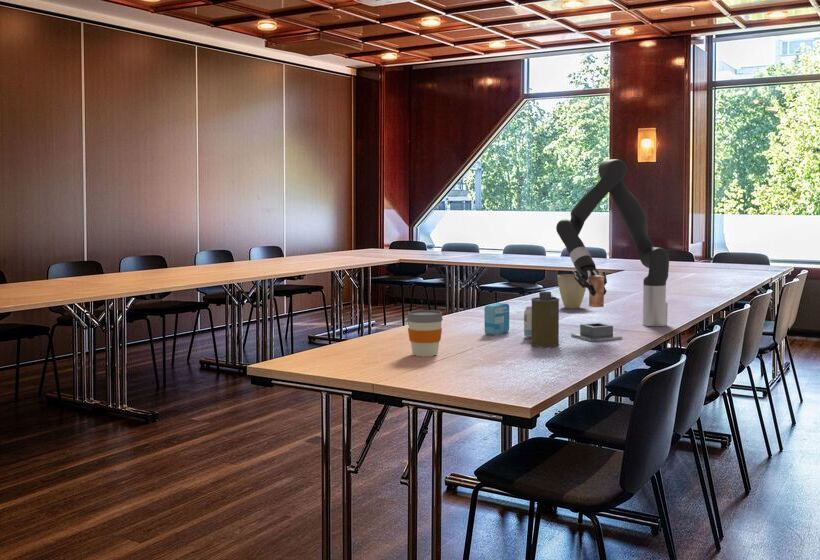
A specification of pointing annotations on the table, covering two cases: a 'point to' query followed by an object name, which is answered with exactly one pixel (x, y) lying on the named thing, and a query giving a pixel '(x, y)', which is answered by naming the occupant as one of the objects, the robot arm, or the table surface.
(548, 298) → the canister
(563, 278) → the plant pot
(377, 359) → the table surface
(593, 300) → the terracotta peg
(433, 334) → the reusable coffee cup
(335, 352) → the table surface
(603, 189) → the robot arm
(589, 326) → the socket plate
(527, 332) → the beverage can
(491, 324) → the data package
